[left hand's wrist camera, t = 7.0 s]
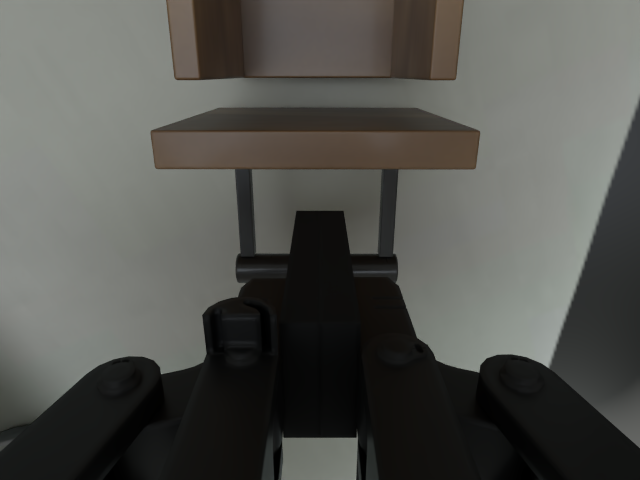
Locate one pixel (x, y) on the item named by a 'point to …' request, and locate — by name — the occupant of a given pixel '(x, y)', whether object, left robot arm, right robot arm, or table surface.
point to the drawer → (315, 123)
